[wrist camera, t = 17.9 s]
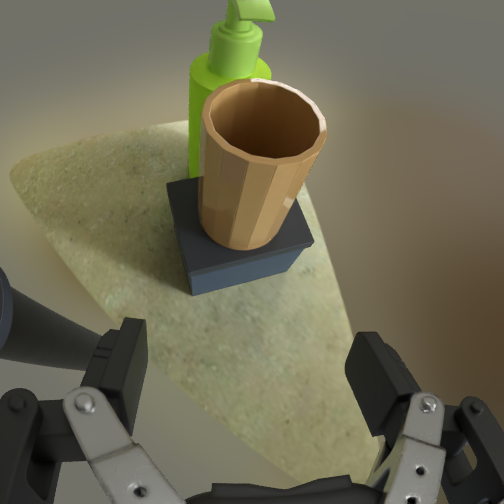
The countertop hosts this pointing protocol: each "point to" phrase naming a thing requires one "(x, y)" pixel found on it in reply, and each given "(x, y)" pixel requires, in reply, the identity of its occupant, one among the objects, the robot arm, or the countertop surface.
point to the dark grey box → (225, 259)
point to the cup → (254, 158)
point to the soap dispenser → (226, 62)
